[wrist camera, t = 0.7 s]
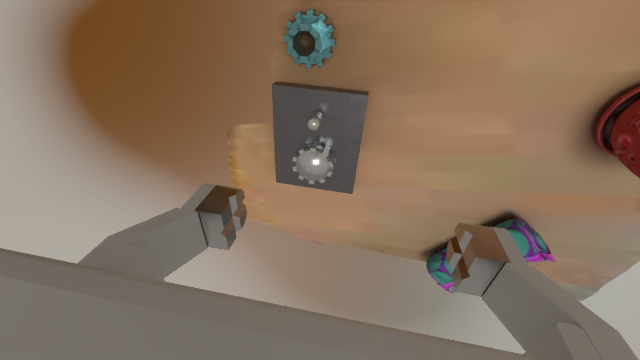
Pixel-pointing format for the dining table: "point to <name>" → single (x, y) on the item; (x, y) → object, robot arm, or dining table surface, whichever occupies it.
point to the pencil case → (523, 237)
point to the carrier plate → (317, 135)
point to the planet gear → (317, 30)
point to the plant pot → (622, 130)
